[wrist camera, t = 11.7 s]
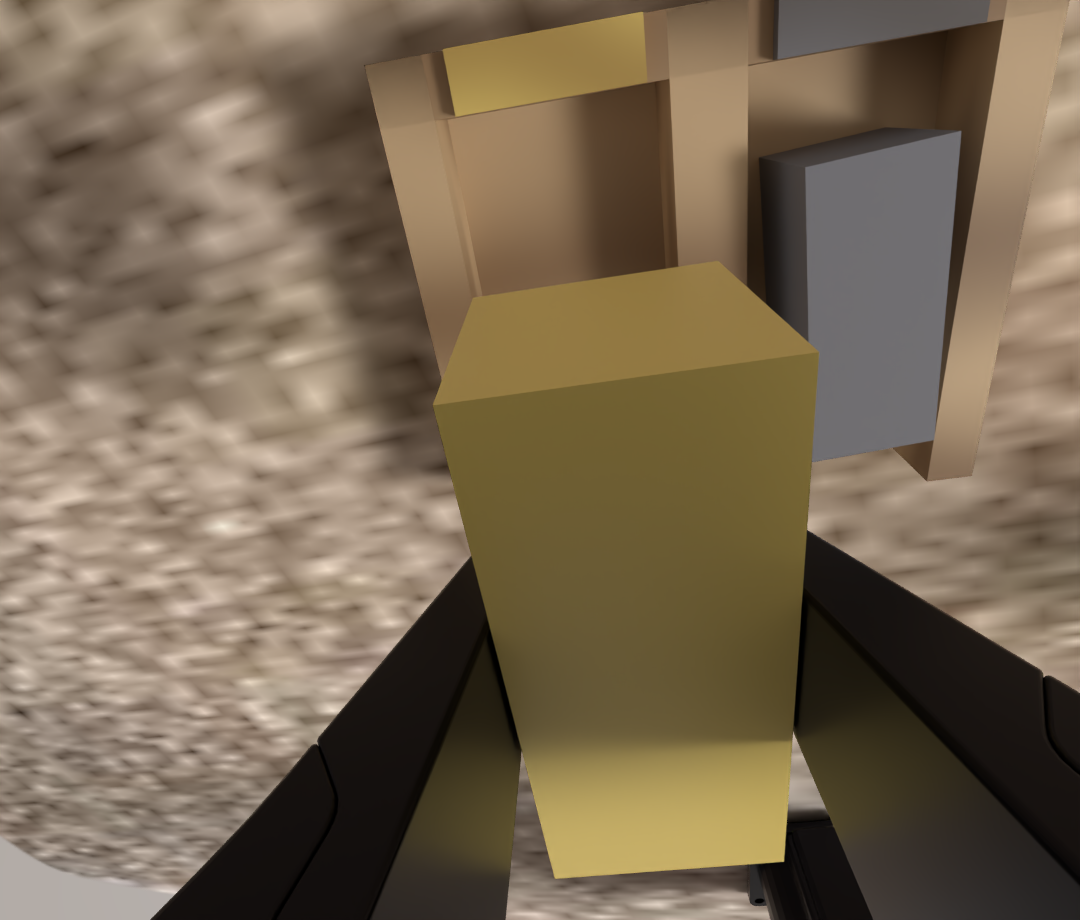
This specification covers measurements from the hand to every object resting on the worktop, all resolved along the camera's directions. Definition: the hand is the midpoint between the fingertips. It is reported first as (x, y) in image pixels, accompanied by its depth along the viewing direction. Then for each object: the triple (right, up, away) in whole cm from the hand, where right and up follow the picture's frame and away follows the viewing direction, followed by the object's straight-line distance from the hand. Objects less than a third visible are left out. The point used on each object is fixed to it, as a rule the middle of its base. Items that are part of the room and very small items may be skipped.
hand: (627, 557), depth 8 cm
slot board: (+3, +7, +10) cm, 12 cm away
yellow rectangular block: (0, 0, +1) cm, 1 cm away
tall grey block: (+6, +6, +9) cm, 12 cm away
